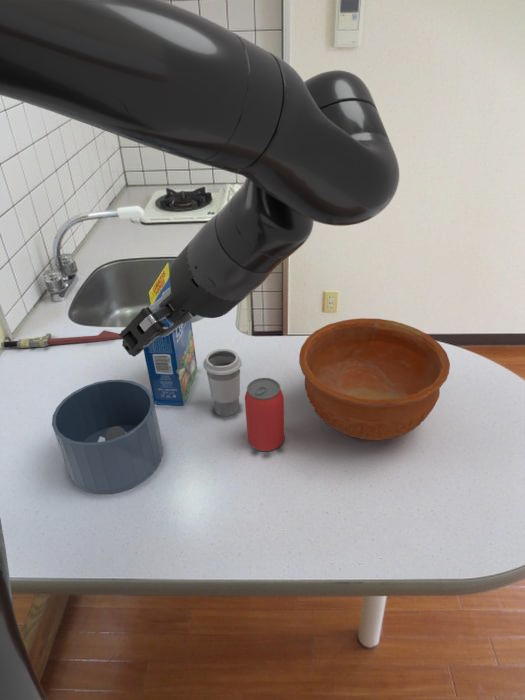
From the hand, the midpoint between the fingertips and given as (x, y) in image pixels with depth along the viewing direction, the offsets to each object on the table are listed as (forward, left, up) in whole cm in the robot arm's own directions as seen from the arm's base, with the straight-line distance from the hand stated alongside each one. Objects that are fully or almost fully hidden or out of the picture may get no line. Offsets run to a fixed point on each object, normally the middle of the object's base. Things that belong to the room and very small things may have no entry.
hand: (156, 331), depth 62 cm
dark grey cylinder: (+4, +18, -32) cm, 37 cm away
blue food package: (+25, +22, -34) cm, 47 cm away
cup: (+24, +9, -34) cm, 42 cm away
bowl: (+33, -16, -34) cm, 50 cm away
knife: (+27, +56, -34) cm, 71 cm away
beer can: (+20, -2, -34) cm, 39 cm away
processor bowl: (+4, +19, -34) cm, 39 cm away
